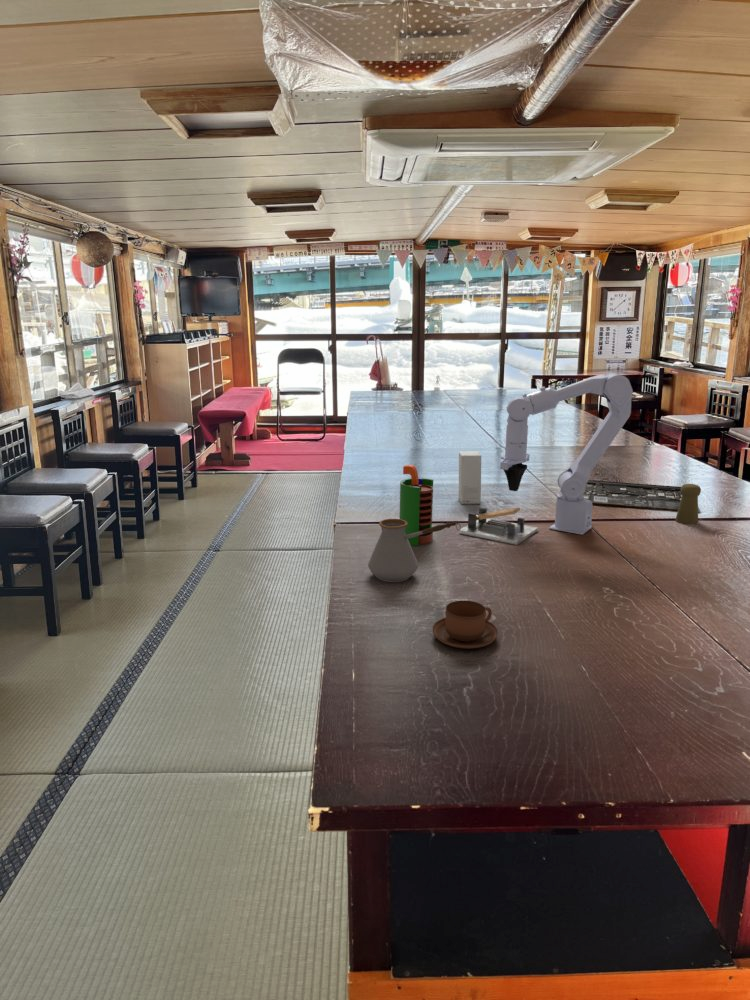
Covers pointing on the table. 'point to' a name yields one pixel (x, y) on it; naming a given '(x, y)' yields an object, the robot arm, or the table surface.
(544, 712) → the table surface
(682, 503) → the cork
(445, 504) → the table surface
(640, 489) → the laptop interior
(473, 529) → the wooden bar fixture
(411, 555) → the coffee pot
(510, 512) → the wooden board
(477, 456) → the skincare box
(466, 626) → the cup and saucer
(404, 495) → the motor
